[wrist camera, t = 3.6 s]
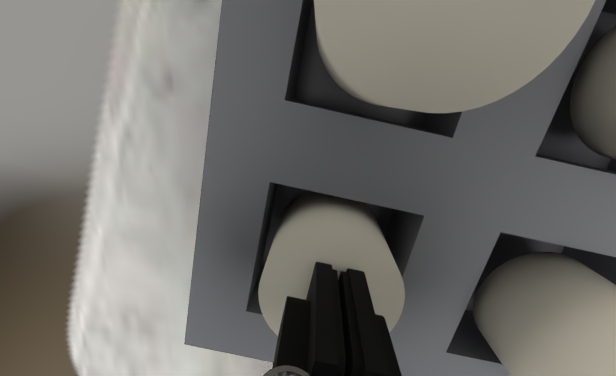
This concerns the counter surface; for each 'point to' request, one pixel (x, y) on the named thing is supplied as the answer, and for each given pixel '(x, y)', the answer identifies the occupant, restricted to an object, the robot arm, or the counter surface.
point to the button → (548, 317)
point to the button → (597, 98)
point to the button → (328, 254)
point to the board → (389, 185)
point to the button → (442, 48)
